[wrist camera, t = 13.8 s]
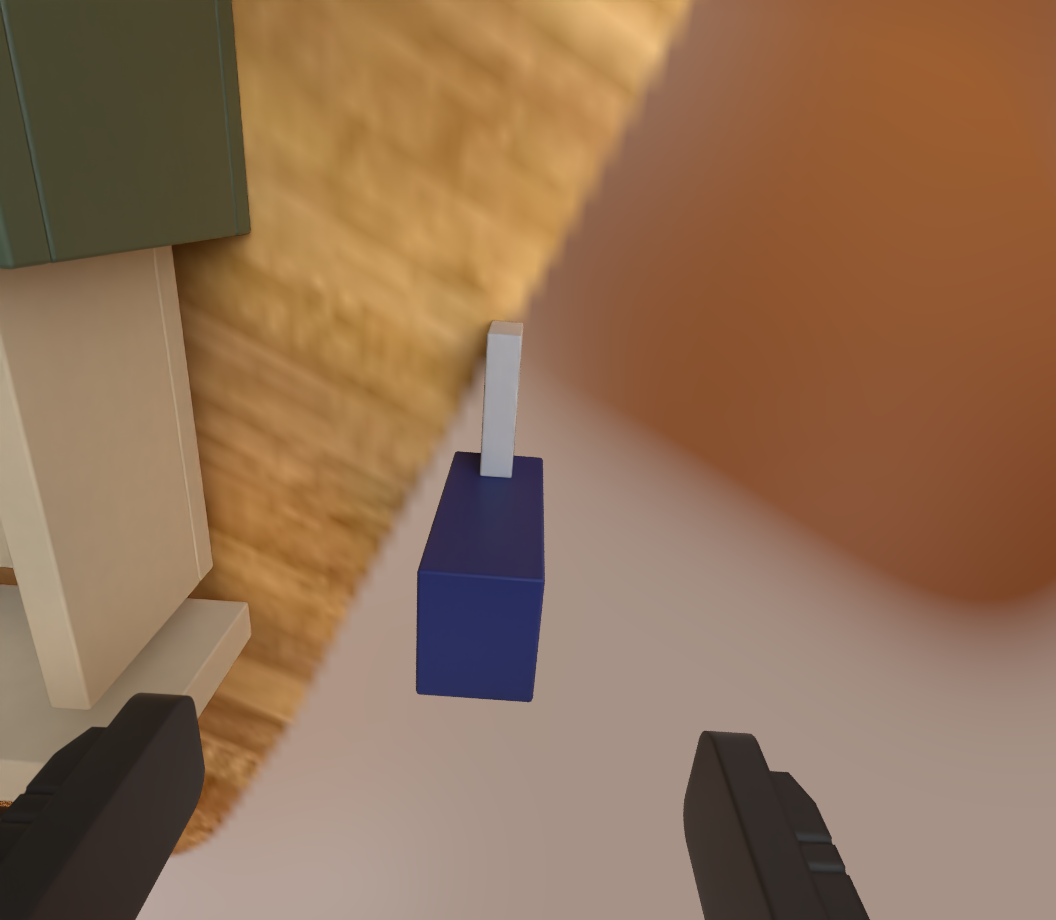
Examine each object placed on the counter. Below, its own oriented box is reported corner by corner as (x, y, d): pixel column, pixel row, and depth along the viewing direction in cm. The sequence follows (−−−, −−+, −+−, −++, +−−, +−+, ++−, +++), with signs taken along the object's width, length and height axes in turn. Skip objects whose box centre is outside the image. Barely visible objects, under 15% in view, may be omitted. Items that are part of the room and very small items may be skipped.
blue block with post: (451, 545, 19) (414, 695, 13) (460, 317, 16) (418, 384, 11) (534, 551, 19) (532, 703, 13) (555, 325, 16) (564, 395, 11)
